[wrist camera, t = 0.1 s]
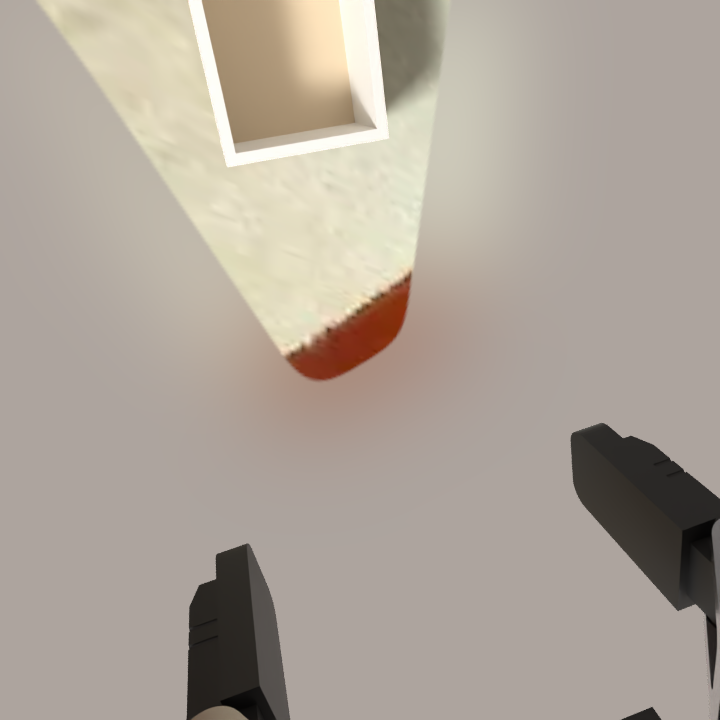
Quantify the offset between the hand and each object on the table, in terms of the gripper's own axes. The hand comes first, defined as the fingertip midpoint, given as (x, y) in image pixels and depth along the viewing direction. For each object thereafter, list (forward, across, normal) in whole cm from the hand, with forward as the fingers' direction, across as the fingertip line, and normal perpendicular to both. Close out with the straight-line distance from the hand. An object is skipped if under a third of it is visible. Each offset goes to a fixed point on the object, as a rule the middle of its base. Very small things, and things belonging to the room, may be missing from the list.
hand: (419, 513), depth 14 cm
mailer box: (+29, -3, -11) cm, 31 cm away
